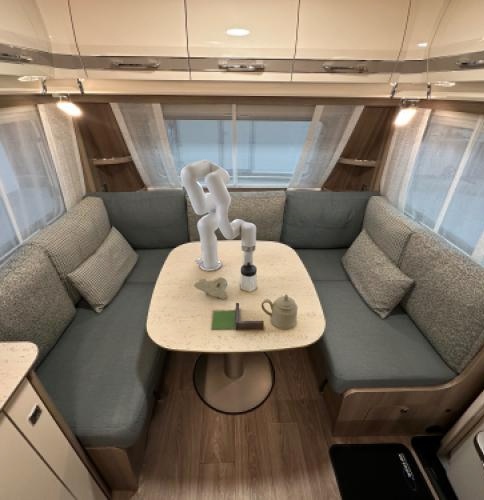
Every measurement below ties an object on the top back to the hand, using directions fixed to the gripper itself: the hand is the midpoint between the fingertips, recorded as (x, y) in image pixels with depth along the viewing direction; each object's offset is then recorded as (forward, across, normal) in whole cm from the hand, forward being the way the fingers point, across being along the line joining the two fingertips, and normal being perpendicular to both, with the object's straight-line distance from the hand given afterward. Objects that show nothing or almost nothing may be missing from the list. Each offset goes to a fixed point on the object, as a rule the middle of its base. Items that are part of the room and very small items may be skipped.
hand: (247, 275), depth 148 cm
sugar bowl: (+2, +33, +13) cm, 35 cm away
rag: (+2, +32, -12) cm, 34 cm away
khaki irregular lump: (+2, +14, -19) cm, 24 cm away
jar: (+2, +7, 0) cm, 8 cm away
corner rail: (+2, +32, 0) cm, 32 cm away
